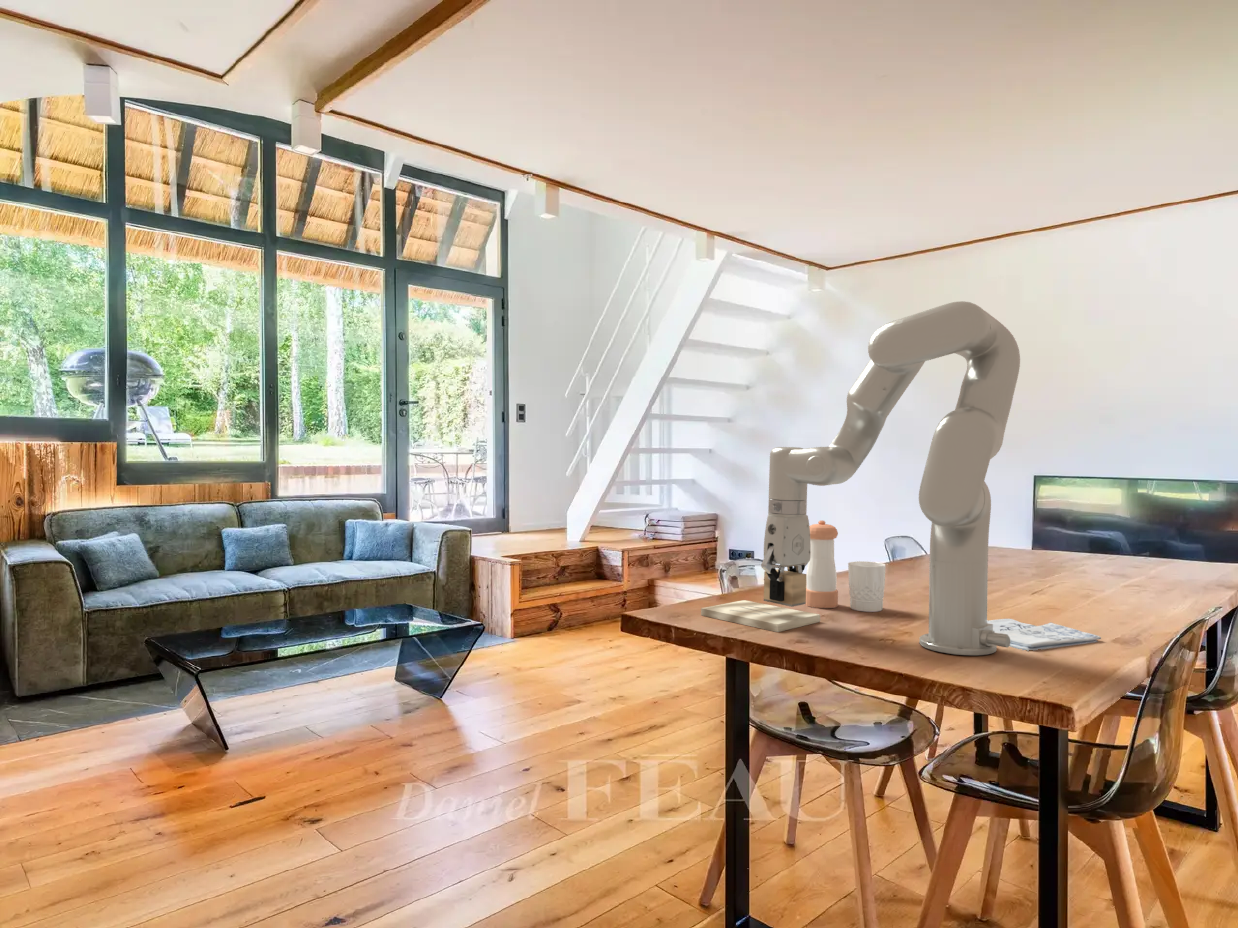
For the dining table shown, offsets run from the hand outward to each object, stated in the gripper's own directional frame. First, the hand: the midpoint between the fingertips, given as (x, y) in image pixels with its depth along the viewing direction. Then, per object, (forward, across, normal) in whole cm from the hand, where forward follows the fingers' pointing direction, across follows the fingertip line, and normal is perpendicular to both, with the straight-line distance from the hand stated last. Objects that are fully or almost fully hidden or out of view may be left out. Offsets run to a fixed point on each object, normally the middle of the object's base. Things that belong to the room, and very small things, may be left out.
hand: (784, 597), depth 158 cm
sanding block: (+1, 0, 0) cm, 1 cm away
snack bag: (+5, +27, -35) cm, 44 cm away
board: (+5, 0, +6) cm, 8 cm away
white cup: (+5, +26, -3) cm, 27 cm away
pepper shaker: (+5, +22, +6) cm, 24 cm away
